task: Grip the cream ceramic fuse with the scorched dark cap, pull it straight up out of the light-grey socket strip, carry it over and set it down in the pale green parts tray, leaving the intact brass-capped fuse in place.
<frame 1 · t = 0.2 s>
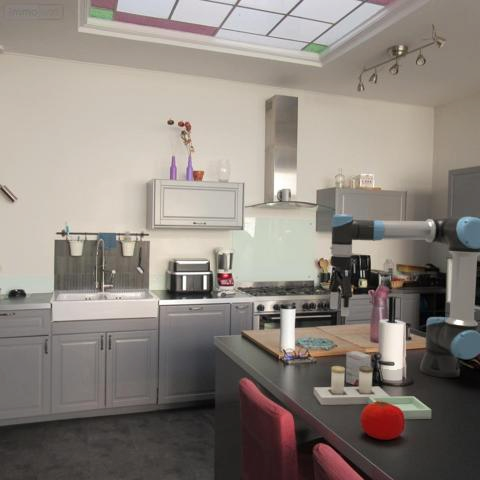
hand: (339, 312, 185), 28 cm above the kitchen island, fingers open, 13 cm apart
socket strip: (351, 398, 173), on the kitchen island
blown fuse: (364, 398, 173), resting in socket strip
parts tray: (398, 411, 162), on the kitchen island
tomato: (381, 436, 144), on the kitchen island
ink box: (357, 384, 189), on the kitchen island
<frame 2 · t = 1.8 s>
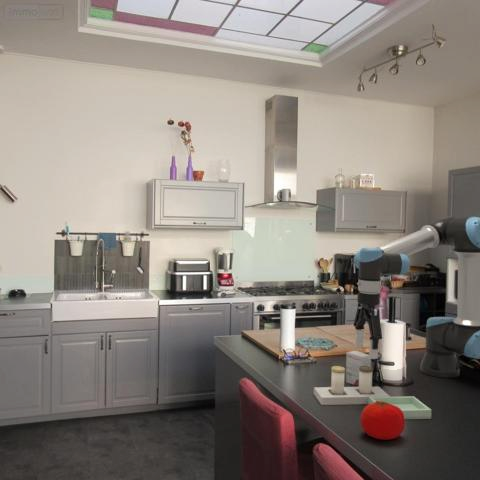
hand: (365, 353, 172), 16 cm above the kitchen island, fingers open, 13 cm apart
nothing on the kitchen island moved.
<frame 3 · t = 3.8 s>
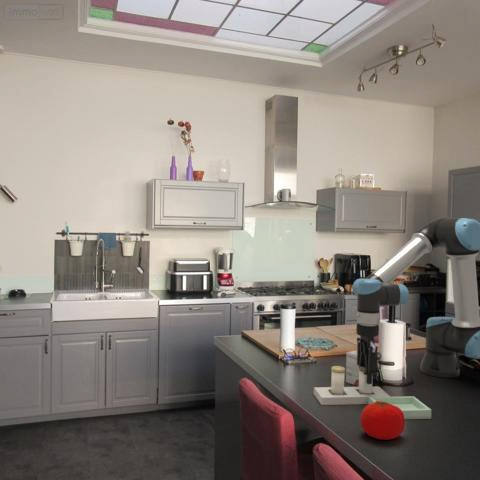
hand: (365, 389, 173), 3 cm above the kitchen island, fingers closed on blown fuse, 4 cm apart
blown fuse: (364, 398, 173), resting in socket strip, touching gripper
everything else where it was.
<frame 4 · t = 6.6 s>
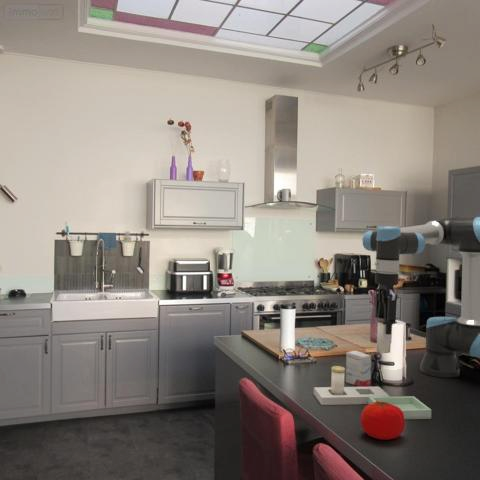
hand: (384, 341, 167), 22 cm above the kitchen island, fingers closed on blown fuse, 4 cm apart
blown fuse: (383, 351, 167), point 19 cm above the kitchen island, touching gripper
everything else where it was.
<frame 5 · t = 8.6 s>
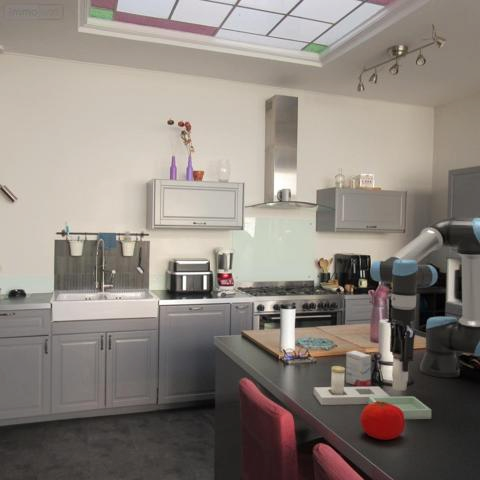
hand: (399, 378, 162), 11 cm above the kitchen island, fingers closed on blown fuse, 4 cm apart
blown fuse: (399, 388, 162), point 8 cm above the kitchen island, touching gripper
everything else where it was.
when the fingers open (5 cm above the kitchen island, at t = 9.9 s): blown fuse stays where it is, resting on parts tray.
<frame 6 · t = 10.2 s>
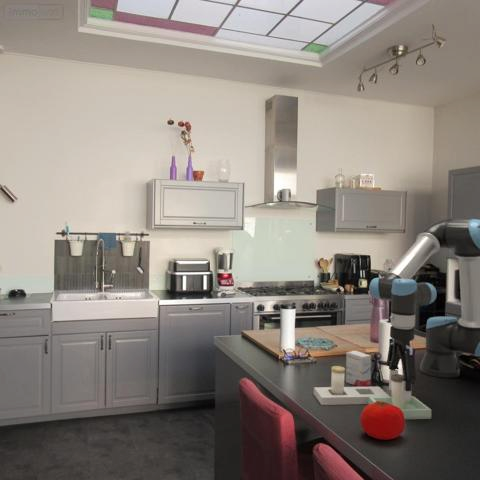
hand: (399, 394, 162), 6 cm above the kitchen island, fingers open, 9 cm apart
blown fuse: (398, 409, 162), point 1 cm above the kitchen island, touching parts tray
everything else where it was.
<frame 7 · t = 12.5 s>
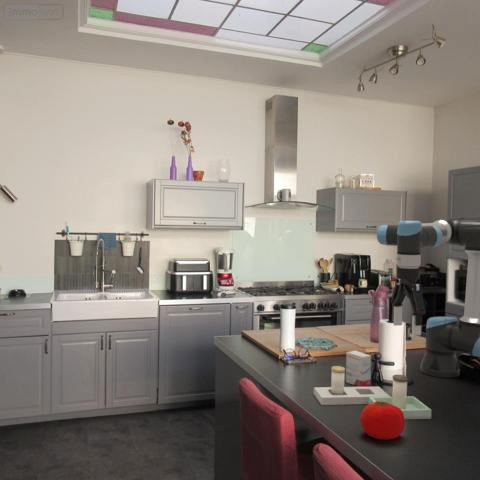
hand: (406, 330, 166), 26 cm above the kitchen island, fingers open, 13 cm apart
nothing on the kitchen island moved.
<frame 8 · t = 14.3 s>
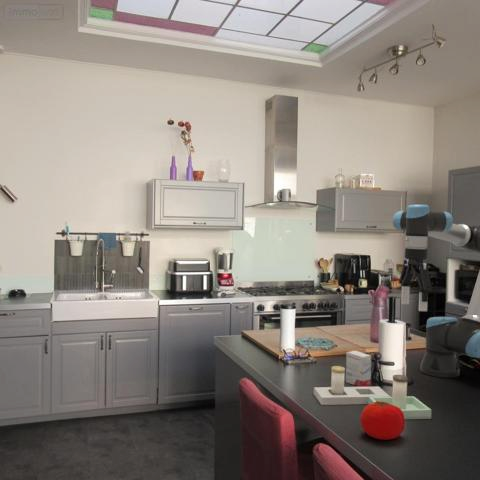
hand: (413, 307, 177), 32 cm above the kitchen island, fingers open, 13 cm apart
nothing on the kitchen island moved.
at the end: blown fuse inside the target area on the parts tray (0.0 cm from its centre), point 0.6 cm above the parts tray's base; the gripper is holding nothing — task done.
